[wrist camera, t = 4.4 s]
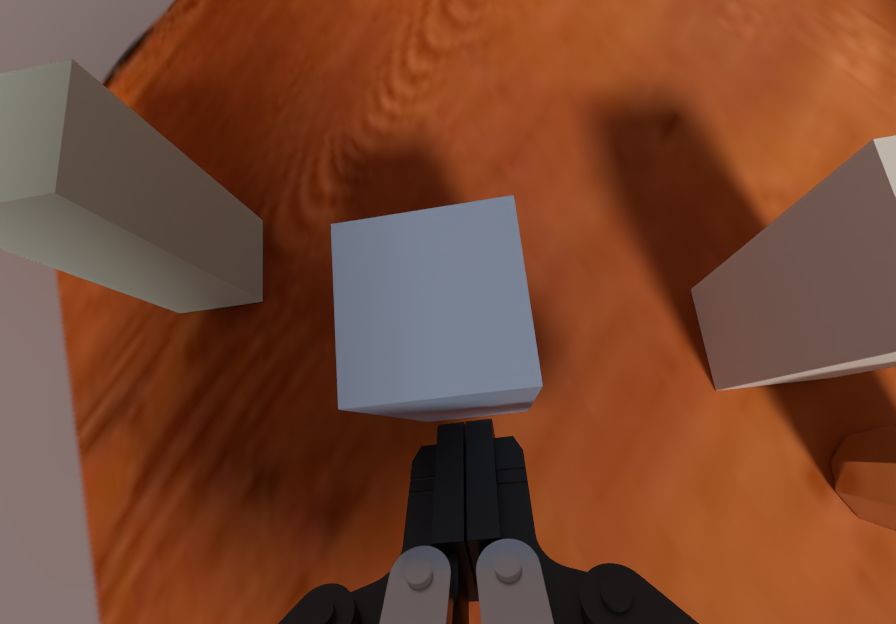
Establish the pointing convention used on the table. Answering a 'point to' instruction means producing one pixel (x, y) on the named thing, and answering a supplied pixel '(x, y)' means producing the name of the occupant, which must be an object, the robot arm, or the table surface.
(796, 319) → the cream block
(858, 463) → the milkshake
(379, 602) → the robot arm
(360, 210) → the table surface
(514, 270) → the slate blue block
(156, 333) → the table surface
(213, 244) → the sage block
